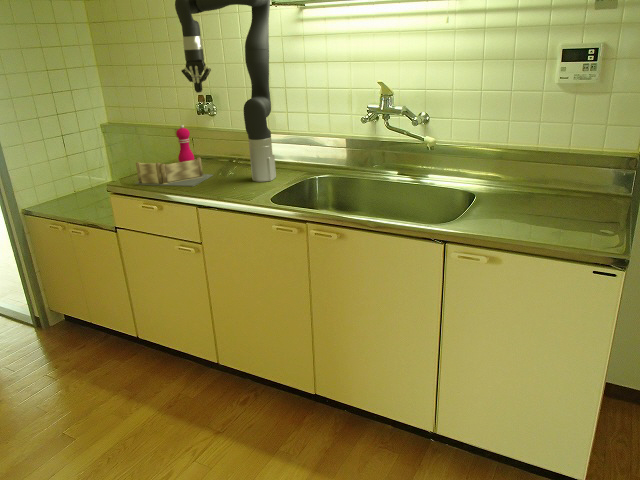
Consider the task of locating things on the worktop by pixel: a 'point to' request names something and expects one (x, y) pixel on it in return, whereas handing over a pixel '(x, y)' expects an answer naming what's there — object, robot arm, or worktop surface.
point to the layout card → (182, 181)
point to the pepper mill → (184, 144)
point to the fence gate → (181, 170)
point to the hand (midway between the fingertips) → (198, 92)
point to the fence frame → (149, 173)
